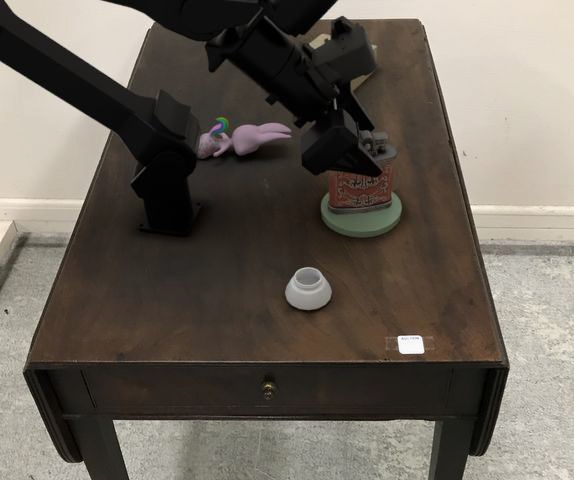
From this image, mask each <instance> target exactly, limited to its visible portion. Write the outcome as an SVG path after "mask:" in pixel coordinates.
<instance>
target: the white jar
mask: <svg viewBox="0 0 574 480" xmlns="http://www.w3.org/2000/svg"><path fill="white" fill-rule="evenodd" d="M332 293H333V291H332V287H331V285H330V283H329V282H328V280H327V278H326V277H325V276H324V275H323V274H322V272H321V271H320V269H317V268H314V267H309V266H307V267H303V268H299V269H297V270H296V272H295V273H294V275H293V276H292V277H291V279H290V280H289V282H288V284H287V285H286V288H285V291H284V295H285V298H286V301H287V302H288V303H289V304H290V305H291V306H292V307H295V308H297V309H299V310H305V311H306V310H307V311H311V310H317V309H320V308H322V307H324V306H326V305H327V304H328V302H329V301H330V300H331V297H332Z"/></svg>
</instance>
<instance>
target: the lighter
mask: <svg viewBox="0 0 574 480" xmlns="http://www.w3.org/2000/svg"><path fill="white" fill-rule="evenodd" d="M359 134H360V139H359V142H360V143H361V144H362V145H363V147H364V148H365V149H366V150H367V151H368V153H369V154H370V155H371V156H372V157H373V158H374V160H375V161H376V162H377V163H378V165H379V166H380V167H381V169H382V171H383V173H382V174H381V175H379V176H378V177H377V178H373V177H368V176H363V175H357V174H352V173H346V172H339V171H328V192H329V200H328V211H329V212H330V213H332V214H335V215H354V214H365V213H371V212H376V211H380V210H385V209H388V208H390V207H391V205H392V195H391V193H392V192H393V178H394V167H395V160H396V158H397V148H395V146H392V145H391V144H388V137H389V136H388V133H386V132H384V131H383V132H374V133H372V132H371V133H370V131H368V130H364V131H359Z"/></svg>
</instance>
